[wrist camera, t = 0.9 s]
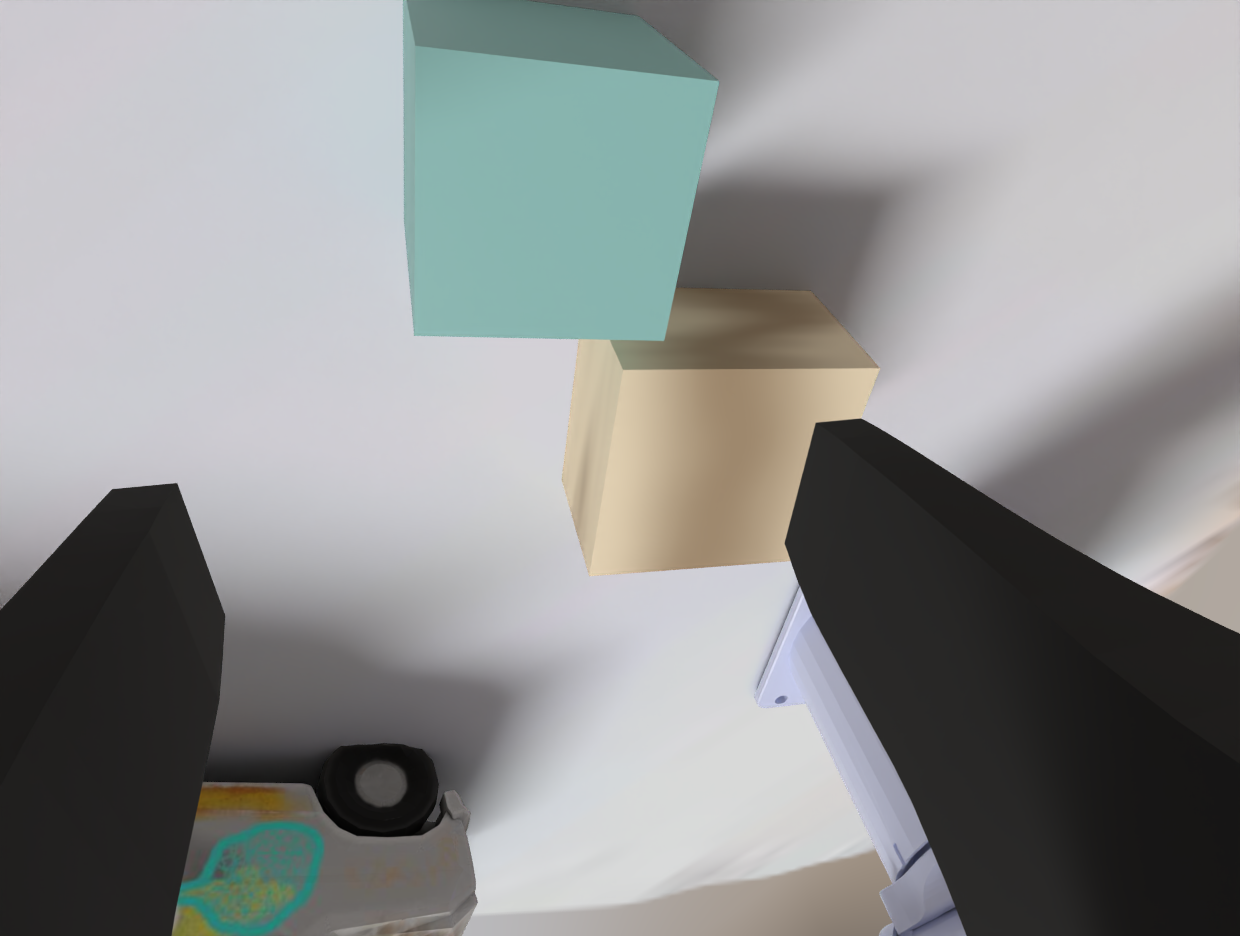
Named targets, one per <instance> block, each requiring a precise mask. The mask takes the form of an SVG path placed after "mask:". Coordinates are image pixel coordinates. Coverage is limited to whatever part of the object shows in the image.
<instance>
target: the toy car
mask: <svg viewBox="0 0 1240 936" xmlns="http://www.w3.org/2000/svg"><path fill="white" fill-rule="evenodd" d="M438 786H439V782H438V778H437V775H436V771H435V768H434V764H433V761H432V760H431V759H430V758H429V757H428V755H427V754H426V753H425V752H424V751H423V750H422V749H417V748H412V747H408V746H405V745H402V744H387V743H383V744H374V745H351V746H341V747H340V748H339V749H337V750H336V751H335V752H334V753H333V754H332V755H331V756H330V757H329V758H328V759H327V760H326V761H325V763H324V766H323V769H322V772H321V776H320V779H319V783H318V787H317V790H316V791H317V797H318V799H317V797H316V795H315V793H314V790H313V788H312V786H310V785H306V784H300V783H237V782H203V784H202V788H201V793H200V798H199V803H198V807H197V812H196V817H195V821H194V826H193V831H192V836H191V840H190V845H189V850H188V855H187V859H186V864H185V869H184V874H183V878H182V883H181V888H180V893H179V897H178V902H177V907H176V912H175V918H174V924H173V930H172V936H462V934H463V932H464V930H465V928H466V926H467V924H468V922H469V920H470V918H471V915H472V913H473V911H474V909H475V907H476V905H477V903H478V902H477V898H476V895H475V889H476V880H475V873H474V867H473V861H472V857H471V852H470V847H469V843H468V838H467V835H466V830H467V827H468V824H469V820H470V811H469V810H468V809H467V808H466V807H465V806H464V804H463V802H462V800H461V798H460V796H459V794H458V793H457V792H456V791H455V790H452V791H447V792H444V794H443V796H442V799H441V801H440V804H439V806H440V811H441V813H440V815H439V817H438V818H437V820H436V822H426V820H427V819H428V817H429V816H430V814H431V813H432V811H433V809H434V807H435V805H436V800H437V793H438Z"/></svg>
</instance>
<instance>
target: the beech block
mask: <svg viewBox="0 0 1240 936" xmlns="http://www.w3.org/2000/svg"><path fill="white" fill-rule="evenodd" d="M879 370H880V368H879V366H878V365H877V364H876V363H875V362H874V361H873V360H872V359H871V357H870V356H869V355H868V354H867V353H866V352H865V351H864V350H863V349H862V347H861V346H860V345H859V344H858V343H857V342H856V341H855V340H854V338H853V337H852V336H851V335H850V334H849V333H848V332H847V331H846V330H845V328H844V327H843V326H842V325H841V324H840V323H839V322H838V321H837V319H836V318H835V317H834V316H833V315H832V314H831V313H830V312H829V311H828V309H827V308H826V307H825V306H824V305H823V304H822V303H821V302H820V300H819V299H818V298H817V297H816V296H815V295H814V294H813V293H812V292H811V291H801V290H758V289H716V288H675V293H674V297H673V302H672V307H671V311H670V316H669V321H668V325H667V330H666V335H665V340H664V341H645V340H597V339H579V342H578V350H577V358H576V366H575V374H574V383H573V391H572V399H571V407H570V415H569V424H568V432H567V440H566V448H565V457H564V465H563V473H562V483H563V486H564V490H565V493H566V497H567V500H568V504H569V507H570V511H571V514H572V518H573V521H574V525H575V528H576V532H577V535H578V539H579V542H580V546H581V549H582V553H583V556H584V560H585V563H586V567H587V570H588V574H589V576H599V575H612V574H625V573H638V572H651V571H665V570H678V569H691V568H704V567H717V566H731V565H744V564H757V563H770V562H783V561H791V560H790V558H789V555H788V552H787V549H786V546H785V544H784V543H785V539H786V535H787V531H788V528H789V524H790V520H791V516H792V512H793V508H794V504H795V501H796V497H797V493H798V489H799V485H800V481H801V477H802V474H803V470H804V466H805V462H806V458H807V454H808V450H809V447H810V443H811V439H812V435H813V431H814V427H815V423H817V422H828V421H838V420H849V419H859V418H861V417H862V414H863V412H864V409H865V406H866V404H867V401H868V399H869V396H870V393H871V391H872V388H873V386H874V383H875V381H876V378H877V375H878V373H879Z"/></svg>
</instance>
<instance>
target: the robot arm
mask: <svg viewBox="0 0 1240 936" xmlns="http://www.w3.org/2000/svg"><path fill="white" fill-rule="evenodd" d="M784 544H785V546H786V549H787V552H788V555H789V558H790V560H791V563H792V566H793V569H794V572H795V574H796V577H797V580H798V583H799V585H800V587H799V589H798V592H797V594H796V596H795V599H794V601H793V604H792V606H791V609H790V611H789V613H788V616H787V618H786V621H785V623H784V626H783V628H782V630H781V633H780V635H779V638H778V640H777V643H776V645H775V647H774V650H773V652H772V655H771V657H770V659H769V662H768V664H767V667H766V669H765V672H764V674H763V676H762V679H761V681H760V684H759V686H758V689H757V691H756V693H755V700H756V702H757V705H758V706H759V707H761V708H771V707H780V706H789V705H798V704H806V705H807V707H808V709H809V711H810V713H811V715H812V718H813V720H814V722H815V724H816V726H817V728H818V730H819V732H820V734H821V736H822V738H823V740H824V742H825V745H826V747H827V749H828V751H829V753H830V755H831V757H832V759H833V761H834V763H835V765H836V767H837V769H838V771H839V774H840V776H841V778H842V780H843V782H844V784H845V786H846V788H847V790H848V792H849V794H850V796H851V798H852V801H853V803H854V805H855V807H856V809H857V811H858V813H859V815H860V817H861V819H862V821H863V823H864V825H865V827H866V830H867V832H868V834H869V836H870V838H871V840H872V842H873V844H874V846H875V848H876V850H877V852H878V854H879V856H880V859H881V860H882V863H883V865H884V867H885V869H886V871H887V873H888V875H889V877H890V879H891V881H892V883H893V884H892V885H890V886H888V887H886V888H885V889H883V890H881V891H880V896H881V899H882V901H883V903H884V905H885V907H886V909H887V911H888V914H889V915H890V918H891V920H892V922H893V923H891V924H889V925H887V926H885V927H884V928H883V929H882V930H881V931H880V934H879V936H1240V634H1239V633H1237V632H1235V631H1233V630H1231V629H1228V628H1226V627H1224V626H1222V625H1220V624H1218V623H1215V622H1214V621H1211V620H1209V619H1207V618H1205V617H1203V616H1201V615H1199V614H1197V613H1195V612H1193V611H1191V610H1189V609H1187V608H1185V607H1183V606H1181V605H1179V604H1177V603H1175V602H1173V601H1171V600H1169V599H1167V598H1165V597H1162V596H1160V595H1158V594H1156V593H1154V592H1152V591H1150V590H1148V589H1147V588H1145V587H1143V586H1141V585H1139V584H1137V583H1135V582H1133V581H1131V580H1129V579H1127V578H1126V577H1124V576H1122V575H1120V574H1118V573H1116V572H1114V571H1113V570H1111V569H1109V568H1107V567H1106V566H1104V565H1102V564H1100V563H1098V562H1097V561H1095V560H1093V559H1091V558H1090V557H1088V556H1086V555H1084V554H1083V553H1081V552H1079V551H1077V550H1076V549H1074V548H1072V547H1070V546H1068V545H1067V544H1065V543H1063V542H1061V541H1060V540H1058V539H1056V538H1055V537H1053V536H1051V535H1050V534H1048V533H1046V532H1045V531H1043V530H1041V529H1040V528H1038V527H1036V526H1034V525H1033V524H1031V523H1029V522H1028V521H1026V520H1025V519H1023V518H1021V517H1020V516H1018V515H1016V514H1015V513H1013V512H1012V511H1010V510H1008V509H1007V508H1005V507H1004V506H1002V505H1000V504H999V503H997V502H996V501H994V500H992V499H991V498H989V497H988V496H986V495H984V494H983V493H981V492H980V491H978V490H977V489H975V488H973V487H972V486H970V485H969V484H967V483H965V482H964V481H962V480H961V479H959V478H958V477H956V476H955V475H953V474H951V473H950V472H948V471H947V470H945V469H944V468H942V467H941V466H939V465H937V464H936V463H934V462H933V461H931V460H930V459H928V458H926V457H925V456H923V455H922V454H920V453H919V452H917V451H915V450H914V449H912V448H911V447H909V446H907V445H906V444H904V443H903V442H901V441H899V440H898V439H896V438H895V437H893V436H891V435H890V434H888V433H886V432H885V431H883V430H881V429H879V428H878V427H876V426H874V425H872V424H870V423H869V422H867V421H865V420H863V419H861V418H859V419H849V420H838V421H828V422H817V423H815V427H814V431H813V435H812V439H811V443H810V447H809V450H808V454H807V458H806V462H805V466H804V470H803V474H802V477H801V481H800V485H799V489H798V493H797V497H796V501H795V504H794V508H793V512H792V516H791V520H790V524H789V528H788V531H787V535H786V539H785V543H784ZM224 625H225V614H224V611H223V608H222V606H221V603H220V600H219V597H218V595H217V592H216V589H215V586H214V584H213V581H212V578H211V575H210V572H209V570H208V567H207V564H206V561H205V559H204V556H203V553H202V550H201V548H200V545H199V542H198V539H197V537H196V534H195V531H194V528H193V526H192V523H191V520H190V517H189V515H188V512H187V509H186V506H185V504H184V501H183V498H182V495H181V493H180V490H179V487H178V484H177V483H174V484H163V485H152V486H142V487H131V488H121V489H112V490H111V491H110V492H109V493H108V494H107V495H106V496H105V497H104V499H103V500H102V501H101V502H100V503H99V504H98V505H97V506H96V507H95V508H94V509H93V510H92V511H91V512H90V513H89V515H88V516H87V517H86V518H85V519H84V520H83V521H82V522H81V523H80V524H79V525H78V526H77V528H76V529H75V530H74V531H73V532H72V533H71V534H70V535H69V536H68V537H67V538H66V540H65V541H64V542H63V543H62V544H61V545H60V546H59V547H58V548H57V549H56V551H55V552H54V553H53V554H52V555H51V556H50V557H49V558H48V559H47V560H46V561H45V563H44V564H43V565H42V566H41V567H40V568H39V569H38V570H37V571H36V572H35V573H34V575H33V576H32V577H31V578H30V579H29V580H28V581H27V582H26V583H25V584H24V585H23V587H22V588H21V589H20V590H19V591H18V592H17V593H16V594H15V595H14V596H13V597H12V598H11V599H10V600H9V602H8V603H7V604H6V605H5V606H4V607H3V608H2V609H1V610H0V936H172V930H173V924H174V918H175V912H176V907H177V902H178V897H179V893H180V888H181V883H182V878H183V874H184V869H185V864H186V859H187V855H188V850H189V845H190V840H191V836H192V831H193V826H194V821H195V817H196V812H197V807H198V803H199V798H200V793H201V788H202V784H203V779H204V774H205V769H206V764H207V759H208V755H209V750H210V745H211V740H212V735H213V730H214V725H215V720H216V715H217V710H218V704H219V696H220V684H221V672H222V659H223V642H224Z"/></svg>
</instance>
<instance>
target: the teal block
mask: <svg viewBox="0 0 1240 936" xmlns="http://www.w3.org/2000/svg"><path fill="white" fill-rule="evenodd" d="M403 79H404V226H405V238H406V249H407V260H408V271H409V282H410V294H411V305H412V316H413V327H414V336H453V337H501V338H549V339H597V340H645V341H664V340H665V335H666V330H667V325H668V321H669V316H670V311H671V307H672V302H673V297H674V293H675V288H676V283H677V279H678V274H679V269H680V264H681V260H682V255H683V250H684V246H685V241H686V236H687V232H688V227H689V222H690V218H691V213H692V208H693V203H694V199H695V194H696V189H697V185H698V180H699V175H700V171H701V166H702V161H703V157H704V152H705V147H706V142H707V138H708V133H709V128H710V124H711V119H712V114H713V110H714V105H715V100H716V96H717V91H718V86H719V81H718V80H717V79H716V78H715V77H713V76H712V75H711V74H710V73H708V72H707V71H706V70H705V69H704V68H702V67H701V66H700V65H699V64H697V63H696V62H695V61H694V60H692V59H691V58H690V57H689V56H687V55H686V54H685V53H684V52H682V51H681V50H680V49H679V48H677V47H676V46H675V45H674V44H673V43H671V42H670V41H669V40H668V39H666V38H665V37H664V36H663V35H661V34H660V33H659V32H658V31H656V30H655V29H654V28H653V27H651V26H650V25H649V24H648V23H646V22H645V21H644V20H643V19H642V18H640V17H639V16H635V15H628V14H621V13H613V12H606V11H599V10H592V9H584V8H577V7H570V6H563V5H555V4H548V3H541V2H534V1H526V0H403Z"/></svg>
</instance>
